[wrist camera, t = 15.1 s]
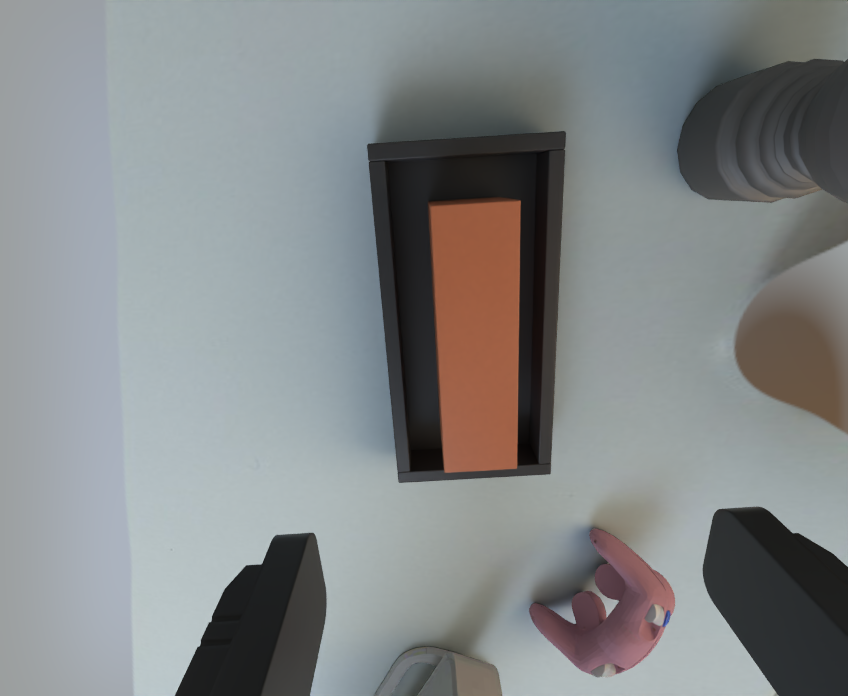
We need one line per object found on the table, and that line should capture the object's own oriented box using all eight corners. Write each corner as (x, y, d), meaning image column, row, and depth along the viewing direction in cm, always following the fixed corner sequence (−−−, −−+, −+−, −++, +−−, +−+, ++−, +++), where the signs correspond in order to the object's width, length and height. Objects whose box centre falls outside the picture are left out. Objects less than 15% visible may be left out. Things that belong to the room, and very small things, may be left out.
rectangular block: (427, 201, 25) (430, 205, 20) (499, 196, 25) (521, 199, 20) (439, 423, 30) (444, 473, 24) (499, 419, 30) (517, 469, 24)
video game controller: (555, 605, 38) (615, 695, 33) (519, 611, 36) (579, 709, 30) (624, 522, 35) (702, 605, 30) (591, 522, 33) (670, 613, 27)
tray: (372, 148, 24) (366, 143, 22) (548, 137, 24) (566, 131, 21) (400, 455, 31) (398, 483, 28) (538, 447, 31) (550, 474, 28)
